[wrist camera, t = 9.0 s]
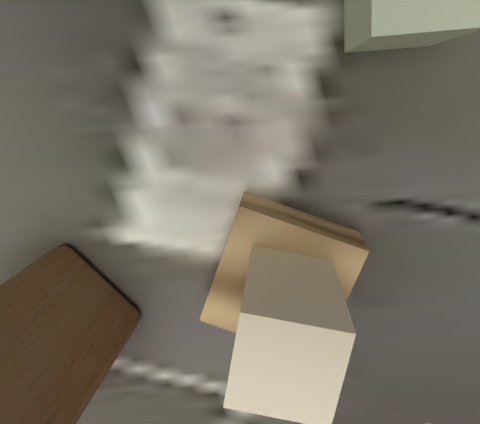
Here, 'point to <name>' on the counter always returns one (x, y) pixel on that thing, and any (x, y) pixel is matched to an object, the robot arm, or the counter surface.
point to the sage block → (406, 23)
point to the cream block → (290, 339)
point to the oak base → (280, 238)
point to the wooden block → (58, 338)
